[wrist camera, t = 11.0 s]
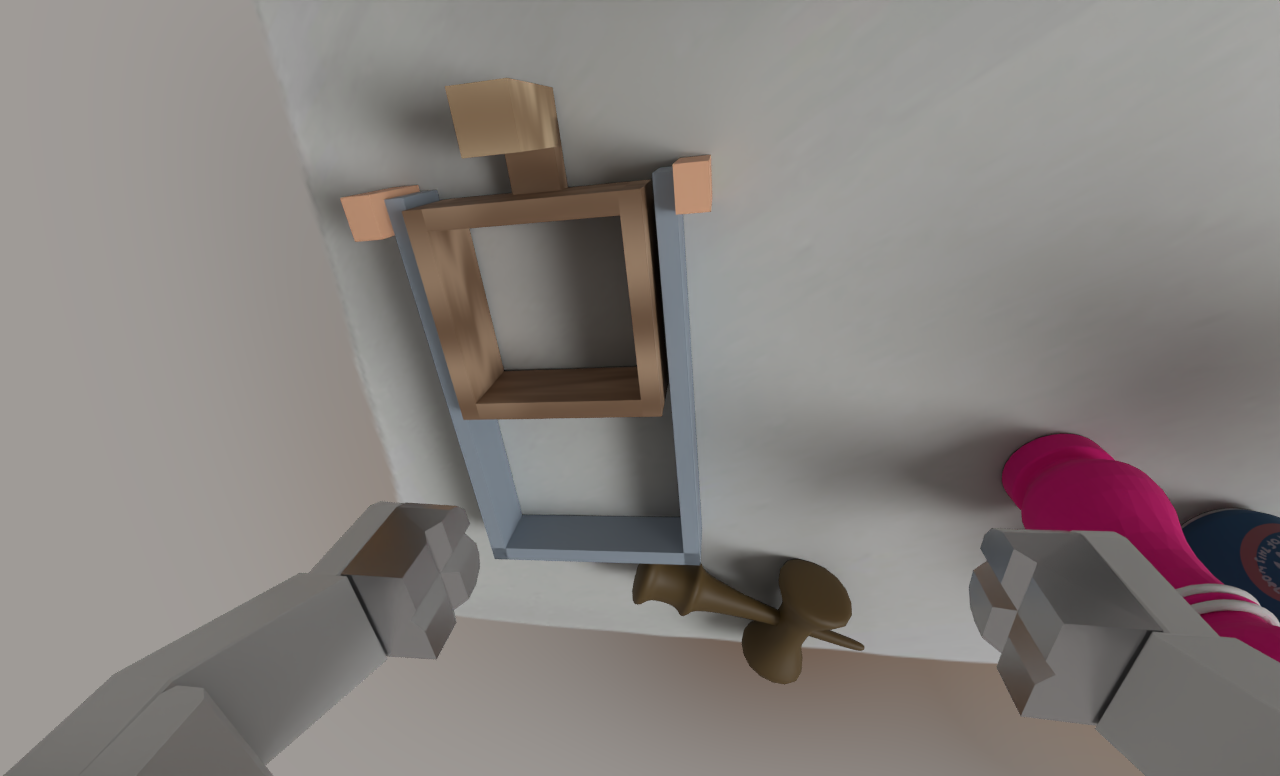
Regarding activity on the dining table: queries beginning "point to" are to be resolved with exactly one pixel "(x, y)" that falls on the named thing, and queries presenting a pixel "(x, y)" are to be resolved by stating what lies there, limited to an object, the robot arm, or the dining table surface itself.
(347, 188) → the dining table surface
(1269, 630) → the pepper mill
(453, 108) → the wooden square frame
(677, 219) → the frame
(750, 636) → the kendama
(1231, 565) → the soda can
